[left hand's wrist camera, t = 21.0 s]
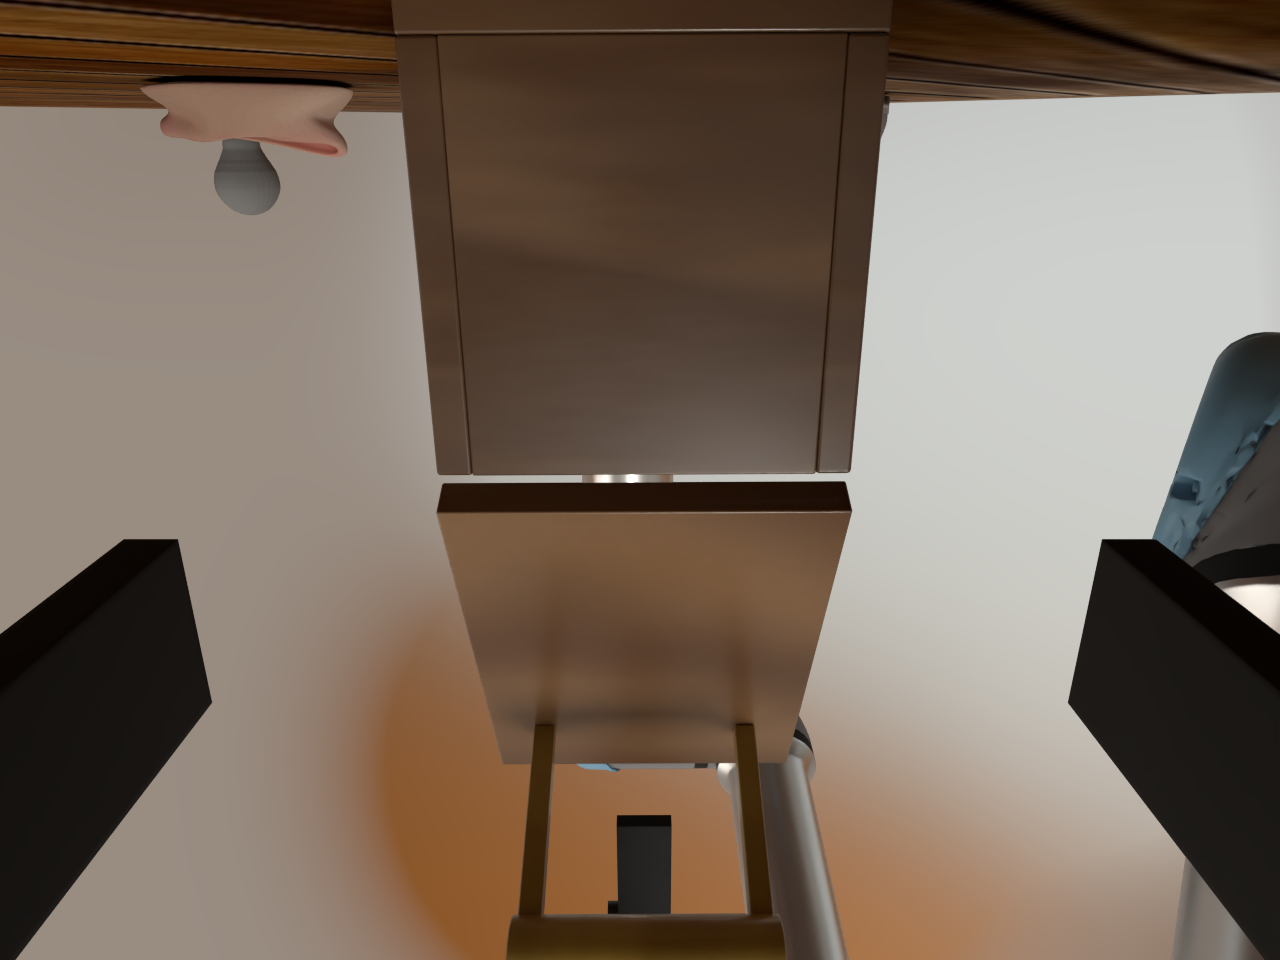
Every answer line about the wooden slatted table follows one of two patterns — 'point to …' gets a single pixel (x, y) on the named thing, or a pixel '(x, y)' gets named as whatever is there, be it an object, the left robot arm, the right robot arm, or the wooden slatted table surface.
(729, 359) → the chest
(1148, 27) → the wooden slatted table surface
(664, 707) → the lid
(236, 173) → the light bulb
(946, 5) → the wooden slatted table surface
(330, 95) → the anatomical model
